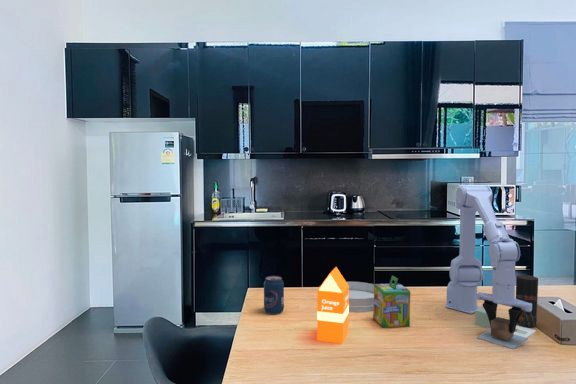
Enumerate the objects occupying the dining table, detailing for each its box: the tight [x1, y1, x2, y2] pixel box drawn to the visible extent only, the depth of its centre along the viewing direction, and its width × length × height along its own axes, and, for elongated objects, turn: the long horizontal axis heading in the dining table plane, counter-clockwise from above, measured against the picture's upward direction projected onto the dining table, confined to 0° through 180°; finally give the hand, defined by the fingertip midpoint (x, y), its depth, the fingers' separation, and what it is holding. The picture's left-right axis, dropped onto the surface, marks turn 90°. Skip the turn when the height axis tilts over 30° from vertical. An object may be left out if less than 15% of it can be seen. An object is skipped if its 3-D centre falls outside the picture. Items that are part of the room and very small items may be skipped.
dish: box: [346, 281, 374, 313], centre depth 152 cm, size 22×22×5 cm
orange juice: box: [316, 266, 350, 344], centre depth 120 cm, size 8×9×20 cm
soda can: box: [263, 275, 285, 316], centre depth 142 cm, size 7×7×12 cm
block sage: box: [474, 307, 491, 329], centre depth 129 cm, size 4×4×4 cm
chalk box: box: [372, 275, 411, 329], centre depth 131 cm, size 9×9×15 cm
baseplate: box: [477, 328, 528, 350], centre depth 118 cm, size 10×10×1 cm
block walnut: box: [490, 316, 514, 340], centre depth 118 cm, size 4×4×4 cm
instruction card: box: [514, 325, 537, 338], centre depth 123 cm, size 7×9×1 cm
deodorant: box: [515, 274, 539, 329], centre depth 128 cm, size 6×6×15 cm
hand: (502, 329), depth 118 cm, fingers open, 5 cm apart
